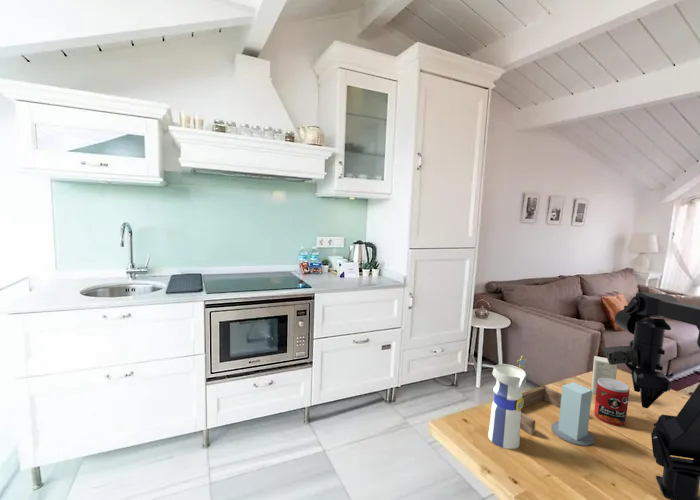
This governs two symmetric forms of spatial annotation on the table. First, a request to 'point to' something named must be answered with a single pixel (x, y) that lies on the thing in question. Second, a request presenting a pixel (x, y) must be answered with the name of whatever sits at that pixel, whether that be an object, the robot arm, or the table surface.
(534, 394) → the u-shaped wooden frame
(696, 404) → the robot arm
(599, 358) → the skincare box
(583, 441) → the coaster
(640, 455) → the table surface
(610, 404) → the canned food
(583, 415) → the block
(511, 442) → the blue striped jug
